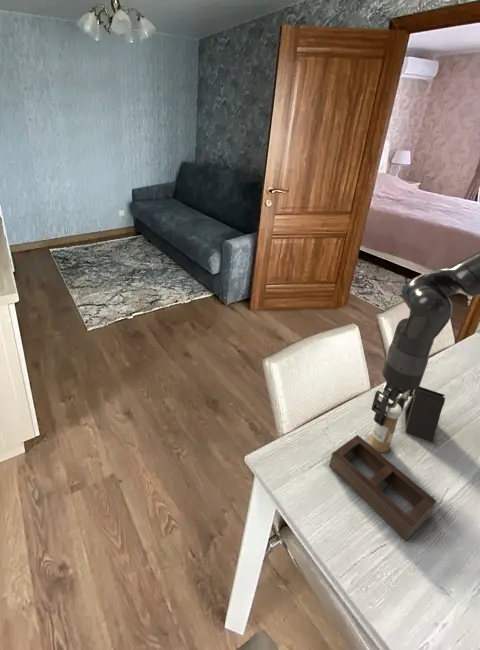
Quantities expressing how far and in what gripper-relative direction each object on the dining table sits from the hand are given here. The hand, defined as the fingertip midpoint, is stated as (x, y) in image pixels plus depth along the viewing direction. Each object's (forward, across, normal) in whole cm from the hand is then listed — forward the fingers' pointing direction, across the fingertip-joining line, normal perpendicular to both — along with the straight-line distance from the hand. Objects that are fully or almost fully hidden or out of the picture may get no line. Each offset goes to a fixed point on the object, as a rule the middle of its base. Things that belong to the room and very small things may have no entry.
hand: (387, 416), depth 84 cm
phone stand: (+10, +15, -2) cm, 18 cm away
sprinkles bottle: (+10, 0, 0) cm, 10 cm away
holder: (+10, -11, -6) cm, 16 cm away
